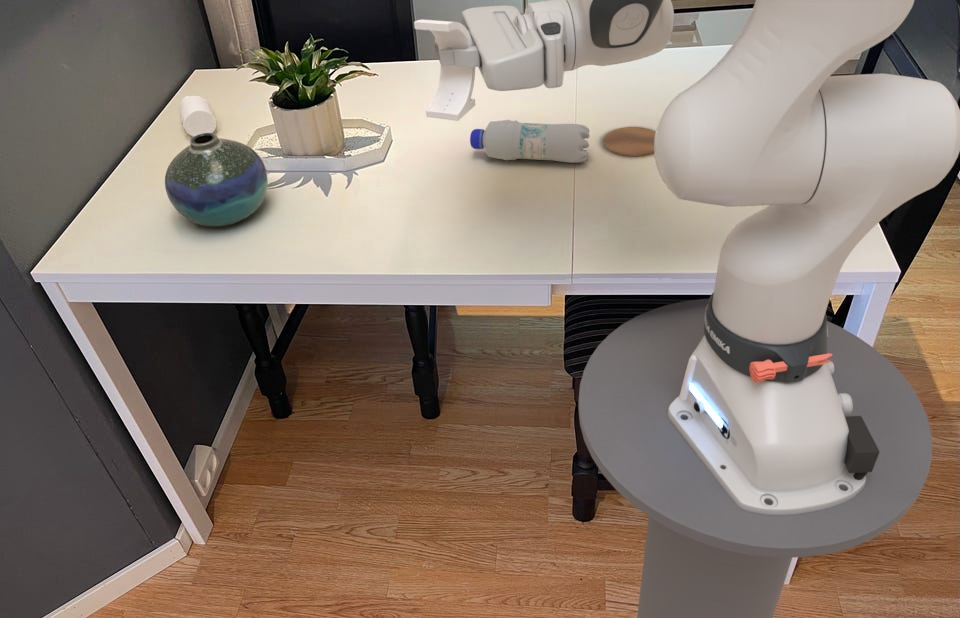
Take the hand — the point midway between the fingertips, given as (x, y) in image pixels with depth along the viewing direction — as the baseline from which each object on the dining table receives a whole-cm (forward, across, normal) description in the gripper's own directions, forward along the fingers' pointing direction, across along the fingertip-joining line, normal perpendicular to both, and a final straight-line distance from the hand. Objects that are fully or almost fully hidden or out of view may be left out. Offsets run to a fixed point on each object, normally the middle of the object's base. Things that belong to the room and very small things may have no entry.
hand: (437, 52), depth 100 cm
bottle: (-25, -16, +25) cm, 39 cm away
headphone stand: (-1, +3, +7) cm, 7 cm away
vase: (+35, -17, +28) cm, 48 cm away
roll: (+43, -52, +28) cm, 73 cm away
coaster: (-34, -21, +28) cm, 49 cm away
